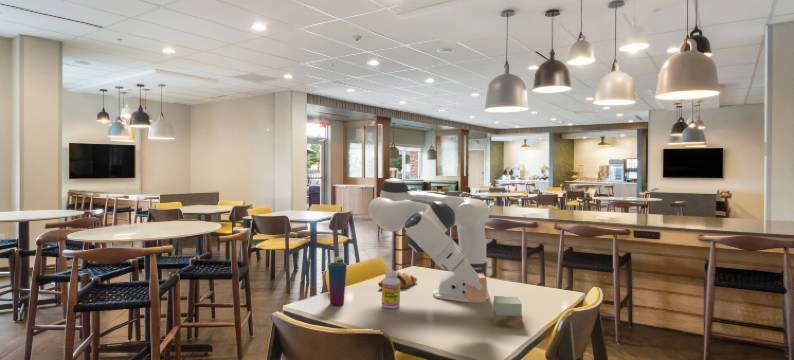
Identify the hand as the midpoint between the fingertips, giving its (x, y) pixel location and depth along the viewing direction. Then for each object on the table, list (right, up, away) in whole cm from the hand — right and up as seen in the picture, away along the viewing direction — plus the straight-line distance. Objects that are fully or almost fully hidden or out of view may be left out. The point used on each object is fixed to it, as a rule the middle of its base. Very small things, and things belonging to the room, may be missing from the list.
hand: (478, 285), depth 140 cm
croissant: (-25, -14, +55) cm, 61 cm away
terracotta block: (-1, -4, 0) cm, 4 cm away
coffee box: (-50, -13, +49) cm, 71 cm away
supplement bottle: (-28, -14, +26) cm, 40 cm away
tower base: (+11, -15, +9) cm, 21 cm away
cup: (-48, -14, +27) cm, 57 cm away
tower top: (+11, -11, +10) cm, 19 cm away
